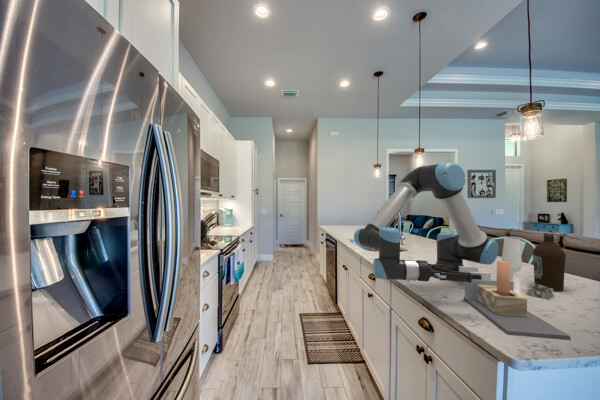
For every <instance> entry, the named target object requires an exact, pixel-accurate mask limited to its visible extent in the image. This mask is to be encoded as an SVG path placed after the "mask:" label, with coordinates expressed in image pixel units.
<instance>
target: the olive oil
mask: <svg viewBox="0 0 600 400" xmlns="http://www.w3.org/2000/svg"><path fill="white" fill-rule="evenodd" d="M566 257H567V256H566V253H565V251H564V249H562V247H560V246H559V245H558V244H557V243H555V237H554V233H550V232H548V233H547V232H544V233H543V241H542V242H541V243H540V244H538V245H536V246H535V247H534V248H533V251H532V262H533V263H532V264H533V278H534V279H533V280H534V282H533V283H535V284H539V285H543V286H547V287H548V288H553V292H563V291H564V289H565V270H566V260H567V259H566Z"/></svg>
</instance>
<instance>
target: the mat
mask: <svg viewBox="0 0 600 400" xmlns="http://www.w3.org/2000/svg"><path fill="white" fill-rule="evenodd" d="M463 301H464V302H465V303H467V304H468V305H470V306H471V307H472V308H474V309H475V310H476V311H478V312H479V314H481V315H483V316H484V317H485V318H486V319H487V320H489V321H490V322H491V323H492V324H494V325H495V326H496V327H497V328H499V329H500V330H502V331H503V332H504V333H505V334H507V335H513V336H524V337H525V336H526V337H536V338H547V339H559V340H571V336H570V335H569V334H568V333H566V332H564V331H562V330H561V329H559V328H557V327H556V326H554V325H552V324H550V323H549V322H547V321H545V320H544V319H542V318H540V317H539V316H537V315H535V314H533V313H531V312H530V311H529V310H527V317H525V316H512V315H498V314H496V313H494V312H493V311H491V310H490V309H489V308H487V307H486V306H485V305H483V304H482V303H480V302H479V301H477V300H467V299H466V298H464V297H463Z"/></svg>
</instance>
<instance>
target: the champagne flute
mask: <svg viewBox="0 0 600 400" xmlns="http://www.w3.org/2000/svg"><path fill="white" fill-rule="evenodd" d="M501 261H507V262H510V280H511V281H513V282H514V275H515V274H516V273H518V272H520V271H521V270H522V268H523V260H522V251H521V243H520V239H519V238H512V237H511V238H510V237H505V238H503V245H502V255H501Z"/></svg>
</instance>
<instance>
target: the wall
mask: <svg viewBox="0 0 600 400" xmlns="http://www.w3.org/2000/svg"><path fill="white" fill-rule="evenodd" d="M463 284H464V286H463V287H464V289H463V292H464V293H463V295H464V297H463V299H464V298H466V299H467V300H477V285H489V286H497V278H491V281H477V280H472V282H471V283H469V282H463ZM514 289H515V284H514V280H513V281H511V280H510V290H511V291H513V292H515V290H514ZM477 301H478V300H477Z"/></svg>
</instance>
